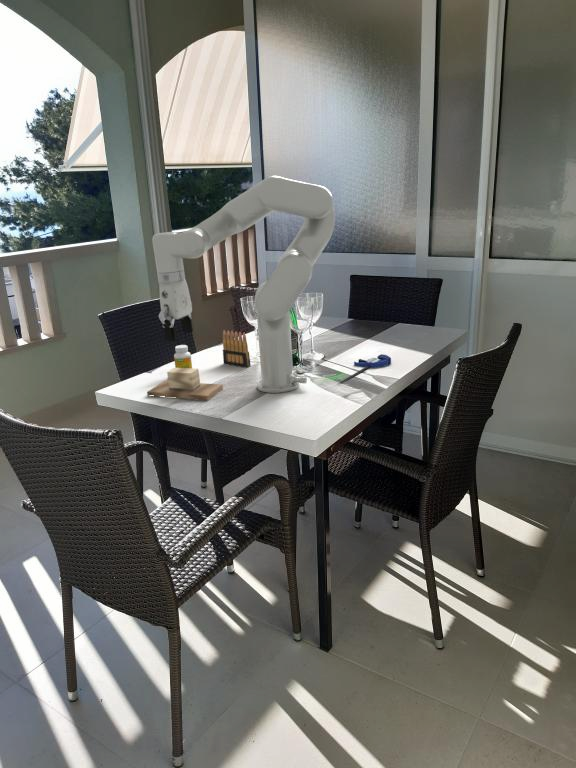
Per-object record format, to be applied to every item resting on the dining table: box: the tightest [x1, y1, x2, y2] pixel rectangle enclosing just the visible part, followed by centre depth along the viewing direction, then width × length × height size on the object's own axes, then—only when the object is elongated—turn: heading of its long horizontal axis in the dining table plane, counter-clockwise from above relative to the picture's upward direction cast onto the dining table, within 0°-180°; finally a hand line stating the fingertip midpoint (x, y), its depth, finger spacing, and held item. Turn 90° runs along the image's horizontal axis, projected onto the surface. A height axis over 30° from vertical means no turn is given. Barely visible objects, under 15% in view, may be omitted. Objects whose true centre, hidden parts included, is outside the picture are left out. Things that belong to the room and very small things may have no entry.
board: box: [146, 380, 224, 401], centre depth 182 cm, size 20×10×2 cm, turn 71°
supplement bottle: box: [173, 344, 193, 368], centre depth 198 cm, size 5×5×10 cm
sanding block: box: [166, 367, 201, 391], centre depth 181 cm, size 8×4×6 cm, turn 71°
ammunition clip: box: [222, 329, 252, 369], centre depth 204 cm, size 11×2×12 cm, turn 54°
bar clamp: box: [337, 353, 392, 386], centre depth 190 cm, size 32×2×10 cm
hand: (179, 336), depth 176 cm, fingers open, 9 cm apart
